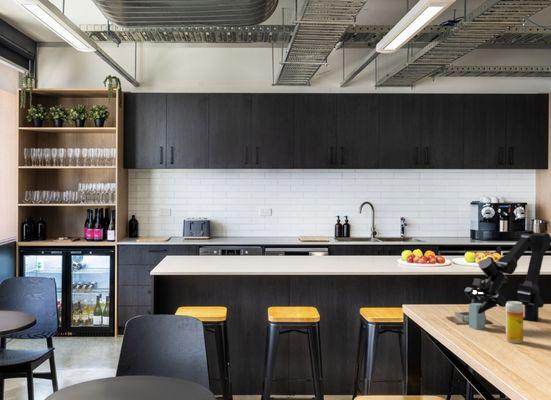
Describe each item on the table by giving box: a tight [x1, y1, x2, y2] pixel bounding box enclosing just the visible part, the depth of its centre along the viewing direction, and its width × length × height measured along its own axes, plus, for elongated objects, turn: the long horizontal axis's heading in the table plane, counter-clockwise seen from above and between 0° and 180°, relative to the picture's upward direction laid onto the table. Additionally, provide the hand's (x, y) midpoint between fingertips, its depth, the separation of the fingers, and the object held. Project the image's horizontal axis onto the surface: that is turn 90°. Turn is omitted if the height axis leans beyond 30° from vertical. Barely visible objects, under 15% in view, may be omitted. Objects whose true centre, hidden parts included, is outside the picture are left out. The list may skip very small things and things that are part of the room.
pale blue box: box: [468, 303, 486, 331], centre depth 222 cm, size 6×4×10 cm, turn 116°
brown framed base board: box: [445, 311, 494, 326], centre depth 234 cm, size 16×12×3 cm
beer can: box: [505, 300, 524, 344], centre depth 201 cm, size 6×6×15 cm
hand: (474, 312), depth 221 cm, fingers closed on pale blue box, 4 cm apart
